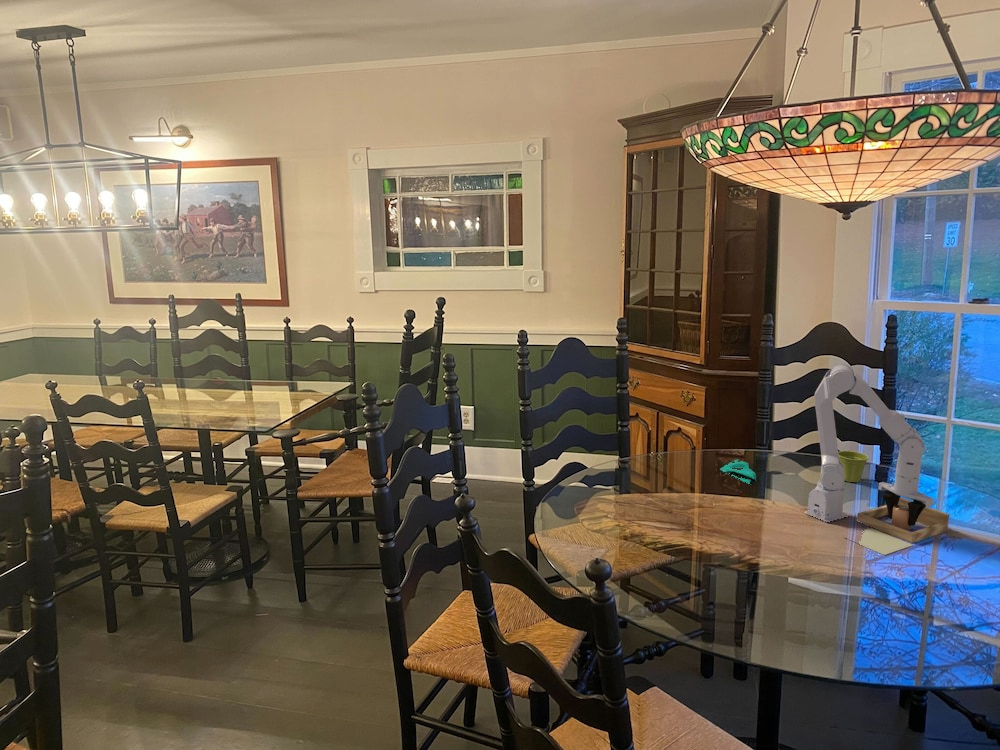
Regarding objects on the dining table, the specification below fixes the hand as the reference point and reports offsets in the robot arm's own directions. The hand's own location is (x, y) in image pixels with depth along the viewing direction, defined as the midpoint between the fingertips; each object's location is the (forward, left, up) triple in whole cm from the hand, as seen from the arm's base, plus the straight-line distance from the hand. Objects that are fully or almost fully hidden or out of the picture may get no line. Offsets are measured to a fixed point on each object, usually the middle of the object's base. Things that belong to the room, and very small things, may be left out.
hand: (901, 521), depth 194 cm
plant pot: (+21, +31, -2) cm, 37 cm away
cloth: (-5, +55, -2) cm, 55 cm away
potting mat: (-15, -3, -1) cm, 15 cm away
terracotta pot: (0, 0, -1) cm, 1 cm away
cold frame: (0, 0, -1) cm, 1 cm away
